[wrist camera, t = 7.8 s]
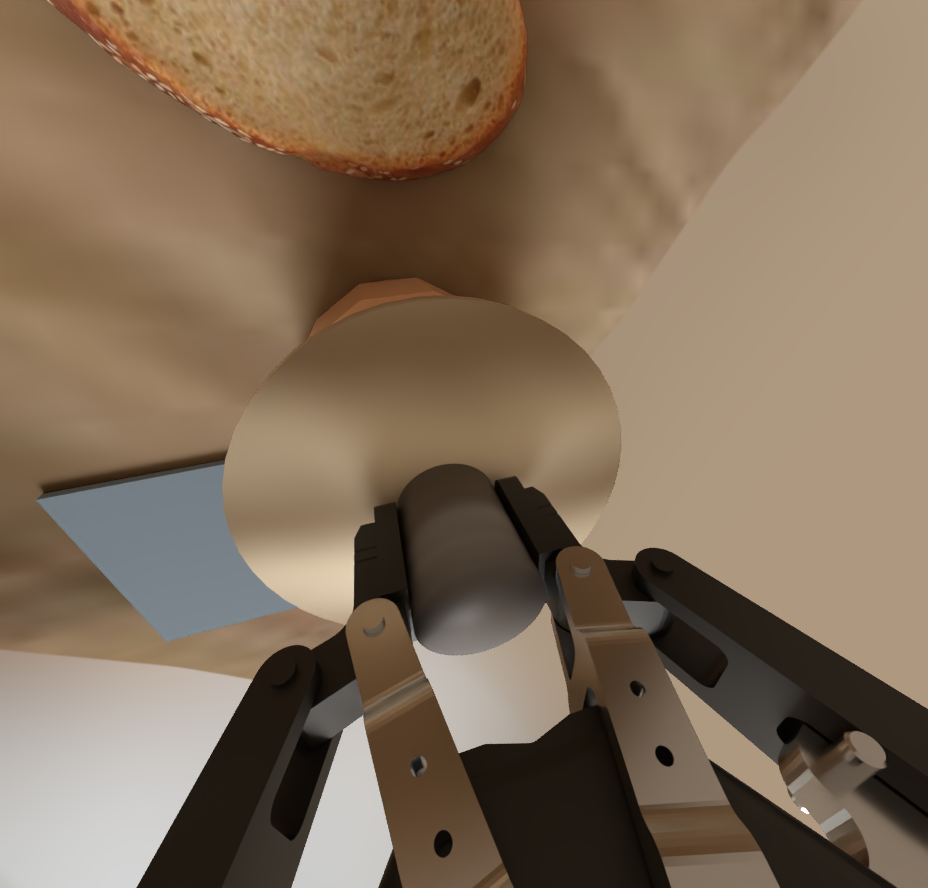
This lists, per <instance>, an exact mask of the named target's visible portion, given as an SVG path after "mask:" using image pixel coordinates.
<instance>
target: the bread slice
mask: <svg viewBox="0 0 928 888" xmlns="http://www.w3.org/2000/svg"><path fill="white" fill-rule="evenodd" d="M47 1H48V2H49V3H50V4H52V5H53V6H54V7H55V8H56V9H57V10H59V11H60V12H61V13H62V14H64V15H65V16H66V17H67V18H69V19H70V20H71V21H72V22H74V23H75V24H76V25H77V26H79V27H80V28H81V29H82V30H83V31H84V32H86V33H87V34H88V35H89V36H90V37H91V38H92V39H93V40H94V41H95V42H96V43H97V44H99V45H100V46H101V47H102V48H103V49H104V50H105V51H106V52H107V53H108V54H110V55H111V56H112V57H113V58H114V59H115V60H117V61H118V62H119V63H121V64H122V65H124V66H126V67H127V68H129V69H130V70H132V71H134V72H135V73H137V74H138V75H140V76H141V77H142V78H144V79H145V80H147V81H148V82H150V83H151V84H152V85H154V86H155V87H156V88H158V89H159V90H161V91H162V92H164V93H166V94H167V95H169V96H171V97H173V98H174V99H176V100H177V101H179V102H181V103H182V104H184V105H186V106H187V107H189V108H191V109H193V110H194V111H196V112H197V113H199V114H200V115H202V116H203V117H204V118H206V119H207V120H209V121H211V122H213V123H215V124H217V125H219V126H221V127H223V128H225V129H226V130H228V131H230V132H231V133H233V134H234V135H236V136H237V137H239V138H240V139H242V140H243V141H245V142H248V143H251V144H254V145H256V146H258V147H260V148H262V149H265V150H267V151H270V152H274V153H278V154H284V155H295V156H298V157H300V158H302V159H304V160H306V161H307V162H309V163H310V164H312V165H313V166H315V167H317V168H319V169H322V170H325V171H330V172H336V173H341V174H345V175H349V176H352V177H356V178H372V179H388V180H412V179H419V178H422V177H426V176H430V175H435V174H439V173H442V172H444V171H447V170H451V169H453V168H456V167H458V166H460V165H463V164H465V163H466V162H468V161H469V160H471V159H472V158H474V157H475V156H476V155H478V154H479V153H481V152H482V151H483V150H484V149H485V148H486V147H487V146H488V145H489V144H490V143H492V142H493V141H494V140H495V139H496V138H497V137H498V136H499V134H500V133H501V132H502V131H503V130H504V128H505V127H506V125H507V123H508V122H509V120H510V118H511V117H512V115H513V114H514V113H515V112H516V111H517V109H518V107H519V105H520V102H521V99H522V96H523V92H524V88H525V80H526V63H527V33H526V27H525V22H524V17H523V13H522V9H521V5H520V1H519V0H47Z"/></svg>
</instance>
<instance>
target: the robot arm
mask: <svg viewBox="0 0 928 888" xmlns="http://www.w3.org/2000/svg"><path fill="white" fill-rule="evenodd" d="M495 491H496V493H497V495H498V497H499V498H500V500H501V502H502V504H503V506H504V508H505V510H506V511H507V513H508V515H509V517H510V519H511V521H512V523H513V525H514V526H515V528H516V530H517V532H518V534H519V536H520V538H521V539H522V541H523V543H524V545H525V547H526V549H527V551H528V553H529V554H530V556H531V558H532V560H533V562H534V564H535V566H536V567H537V569H538V571H539V573H540V575H541V577H542V579H543V581H544V583H545V586H546V600H545V603H547V604H548V606H549V608H550V610H551V624H552V628H553V632H554V636H555V640H556V644H557V648H558V652H559V656H560V660H561V664H562V668H563V672H564V677H565V681H566V685H567V691H568V703H569V711H570V714H569V715H568V716H567V717H565V718H564V719H563V720H562V721H561V722H559V723H558V724H557V725H555V726H554V727H553V728H552V729H551V730H549V731H548V732H547V733H545V734H544V735H543V736H542V737H541V738H539V739H538V740H537V741H535V742H533V743H521V744H484V745H481V746H479V747H476V748H473V749H470V750H467V751H465V752H462V753H458V751H457V748H456V746H455V743H454V741H453V738H452V736H451V733H450V731H449V728H448V726H447V724H446V721H445V719H444V716H443V714H442V711H441V709H440V707H439V704H438V701H437V699H436V696H435V694H434V691H433V689H432V687H431V685H430V683H429V681H428V679H427V678H426V676H425V674H424V672H423V669H422V667H421V664H420V662H419V659H418V657H417V654H416V652H415V649H414V647H413V641H416V640H417V638H416V636H415V634H414V629H413V622H412V615H411V606H412V605H411V598H410V592H409V585H408V578H407V571H406V565H405V558H404V551H403V544H402V537H401V531H400V524H399V517H398V511H397V506H396V503H395V502H393V503H389V504H384V505H380V506H375V507H374V519H375V522H374V523H369V524H365V525H361V526H360V528H359V530H358V532H357V534H356V536H355V538H354V553H355V554H354V607H353V612H352V614H351V615H350V617H349V619H348V621H347V624H346V625H345V626H344V628H343V629H342V630H341V631H340V632H338V633H337V634H336V635H335V636H333V637H332V638H330V639H329V640H327V641H325V642H324V643H322V644H320V645H319V646H317V647H315V648H314V649H312V650H310V649H309V648H307V647H305V646H301V645H293V646H289V647H286V648H283V649H281V650H279V651H278V652H276V653H274V654H273V655H272V656H271V657H269V658H268V659H267V660H266V661H265V662H264V664H263V665H262V666H261V667H260V669H259V670H258V672H257V674H256V675H255V677H254V679H253V681H252V683H251V684H250V686H249V688H248V690H247V692H246V693H245V695H244V697H243V699H242V701H241V702H240V704H239V706H238V708H237V709H236V711H235V713H234V715H233V717H232V718H231V720H230V722H229V724H228V726H227V727H226V729H225V731H224V733H223V734H222V736H221V738H220V740H219V741H218V743H217V745H216V747H215V749H214V750H213V752H212V754H211V756H210V758H209V759H208V761H207V763H206V765H205V766H204V768H203V770H202V772H201V774H200V775H199V777H198V779H197V781H196V783H195V785H194V786H193V788H192V790H191V792H190V793H189V795H188V797H187V799H186V801H185V802H184V804H183V806H182V808H181V809H180V811H179V813H178V815H177V817H176V818H175V820H174V822H173V824H172V825H171V827H170V829H169V831H168V833H167V834H166V836H165V838H164V840H163V842H162V843H161V845H160V847H159V849H158V850H157V853H156V854H155V856H154V858H153V859H152V861H151V863H150V865H149V867H148V868H147V870H146V872H145V874H144V875H143V877H142V879H141V881H140V883H139V884H138V886H137V888H291V887H292V883H293V881H294V878H295V875H296V871H297V868H298V865H299V862H300V859H301V856H302V853H303V850H304V847H305V844H306V841H307V838H308V835H309V832H310V829H311V826H312V823H313V820H314V817H315V814H316V811H317V808H318V805H319V801H320V799H321V796H322V792H323V789H324V786H325V783H326V780H327V777H328V774H329V771H330V768H331V765H332V762H333V759H334V756H335V753H336V750H337V747H338V744H339V741H340V738H341V734H342V732H343V729H344V728H346V727H347V726H348V725H350V724H351V723H353V722H354V721H355V720H357V719H358V718H359V717H361V716H362V715H364V716H363V717H364V724H365V729H366V734H367V738H368V743H369V747H370V751H371V755H372V759H373V764H374V768H375V772H376V777H377V781H378V785H379V790H380V794H381V798H382V802H383V806H384V811H385V815H386V819H387V824H388V828H389V832H390V837H391V841H392V845H393V850H392V853H391V855H390V858H389V861H388V863H387V866H386V869H385V871H384V874H383V877H382V880H381V882H380V885H379V887H378V888H928V709H927V708H925V707H923V706H922V705H920V704H919V703H916V702H915V701H914V700H912V699H910V698H909V697H907V696H905V695H904V694H902V693H901V692H899V691H897V690H896V689H894V688H892V687H891V686H889V685H888V684H886V683H884V682H883V681H881V680H879V679H878V678H876V677H874V676H873V675H871V674H870V673H868V672H866V671H865V670H863V669H861V668H860V667H858V666H857V665H855V664H853V663H851V662H850V661H848V660H847V659H845V658H844V657H842V656H840V655H839V654H837V653H835V652H834V651H832V650H830V649H829V648H827V647H825V646H824V645H822V644H821V643H819V642H817V641H816V640H814V639H813V638H811V637H809V636H808V635H806V634H804V633H803V632H801V631H799V630H798V629H796V628H795V627H793V626H791V625H790V624H788V623H786V622H785V621H783V620H782V619H780V618H778V617H776V616H775V615H773V614H772V613H770V612H768V611H767V610H765V609H764V608H762V607H760V606H759V605H757V604H755V603H754V602H752V601H750V600H749V599H747V598H746V597H744V596H742V595H741V594H739V593H737V592H736V591H734V590H733V589H731V588H729V587H728V586H726V585H724V584H723V583H721V582H720V581H718V580H716V579H715V578H713V577H711V576H710V575H708V574H706V573H705V572H703V571H701V570H700V569H698V568H697V567H695V566H693V565H692V564H690V563H688V562H687V561H685V560H684V559H682V558H680V557H679V556H677V555H675V554H674V553H672V552H669V551H667V550H664V549H659V548H647V549H644V550H642V551H640V552H639V553H638V554H637V555H636V558H635V561H623V560H606V559H602V558H601V557H600V555H598V554H597V553H596V552H594V551H593V550H590V549H588V548H585V547H582V546H581V545H580V543H579V542H578V540H577V539H576V538H575V536H574V535H573V533H572V532H571V531H570V529H569V528H568V526H567V525H566V524H565V522H564V521H563V519H562V518H561V517H560V515H558V513H557V511H556V510H555V508H554V507H553V506H552V504H551V503H550V501H549V500H548V498H547V497H546V496H545V494H544V493H542V492H540V491H539V490H537V489H536V488H534V487H533V486H532V487H528V488H524V487H523V485H522V484H521V482H520V481H519V479H518V478H517V477H516V476H512V477H507V478H503V479H498V480H495ZM545 603H544V604H545ZM665 668H666V669H667V670H668V671H669V672H670V673H671V674H673V675H674V676H675V677H676V678H678V680H680V681H681V682H682V683H683V684H684V685H685V686H687V687H688V688H689V689H690V690H691V691H693V692H694V693H695V694H696V695H697V696H698V697H699V698H701V699H702V700H703V701H704V702H705V703H706V704H708V705H709V706H710V707H711V708H712V709H714V710H715V711H716V712H717V713H718V714H719V715H720V716H722V717H723V718H724V719H725V720H726V721H727V722H729V723H730V724H731V725H732V726H733V727H735V728H736V729H737V730H738V731H739V732H740V733H742V734H743V735H744V736H745V737H746V738H747V739H748V740H750V741H751V742H752V743H753V744H754V745H755V746H757V747H758V748H759V749H760V750H761V751H763V752H764V753H765V754H766V755H767V756H768V757H770V758H771V759H772V760H773V761H774V762H775V763H776V764H778V765H779V769H780V773H781V775H782V778H783V780H784V782H785V784H786V786H787V790H788V793H789V795H790V797H791V799H792V800H793V802H794V803H795V804H796V805H797V806H798V807H799V808H800V809H801V810H802V811H804V812H805V813H807V814H810V815H811V816H812V817H813V818H814V819H815V820H816V821H817V823H818V824H819V825H820V826H821V828H822V830H823V831H824V832H825V834H826V836H827V838H828V839H829V841H828V840H827V839H825V838H824V837H823V836H821V835H820V834H818V833H817V832H815V831H814V830H812V829H811V828H809V827H808V826H806V825H805V824H803V823H802V822H800V821H799V820H797V819H796V818H795V817H793V816H791V815H790V814H788V813H787V812H786V811H784V810H783V809H781V808H780V807H778V806H777V805H775V804H774V803H772V802H771V801H770V800H768V799H766V798H765V797H764V796H762V795H761V794H759V793H758V792H756V791H755V790H753V789H752V788H751V787H749V786H748V785H746V784H745V783H743V782H742V781H740V780H739V779H737V778H735V777H734V776H733V775H731V774H730V773H728V772H727V771H725V770H724V769H723V768H721V767H720V766H718V765H717V764H715V763H714V762H712V761H711V760H709V759H708V758H707V755H706V754H705V752H704V749H703V747H702V745H701V743H700V741H699V739H698V737H697V735H696V733H695V730H694V728H693V726H692V724H691V722H690V720H689V718H688V716H687V714H686V712H685V709H684V707H683V705H682V703H681V701H680V699H679V697H678V695H677V693H676V691H675V688H674V687H673V684H672V682H671V680H670V678H669V676H668V674H667V672H666V670H665Z"/></svg>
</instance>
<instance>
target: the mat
mask: <svg viewBox="0 0 928 888" xmlns="http://www.w3.org/2000/svg"><path fill="white" fill-rule="evenodd" d="M224 465H225V460H221V461H215V462H210V463H205V464H199V465H194V466H189V467H183V468H178V469H173V470H167V471H162V472H157V473H151V474H146V475H141V476H135V477H130V478H125V479H119V480H114V481H109V482H103V483H98V484H93V485H87V486H82V487H77V488H71V489H66V490H61V491H55V492H50V493H45V494H42V495H41V496H40V497H39V498H38V499H36V501H37V502H38V503H39V504H40V505H41V506H42V507H43V509H44V510H45V511H46V512H47V513H48V514H49V515H50V516H51V517H52V518H53V519H54V521H55V522H56V523H57V524H58V525H59V526H60V527H61V528H62V529H63V530H64V531H65V532H66V534H67V535H68V536H69V537H70V538H71V539H72V540H73V541H74V542H75V543H76V544H77V546H78V547H79V548H80V549H81V550H82V551H83V552H84V553H85V554H86V555H87V556H88V558H89V559H90V560H91V561H92V562H93V563H94V564H95V565H96V566H97V567H98V568H99V569H100V571H101V572H102V573H103V574H104V575H105V576H106V577H107V578H108V579H109V580H110V581H111V583H112V584H113V585H114V586H115V587H116V588H117V589H118V590H119V591H120V592H121V593H122V595H123V596H124V597H125V598H126V599H127V600H128V601H129V602H130V603H131V604H132V605H133V606H134V608H135V609H136V610H137V611H138V612H139V613H140V614H141V615H142V616H143V617H144V618H145V620H146V621H147V622H148V623H149V624H150V625H151V626H152V627H153V628H154V629H155V630H156V632H157V633H158V634H159V635H160V636H161V637H162V638H163V639H164V640H165V641H166V642H167V641H171V640H175V639H179V638H183V637H186V636H190V635H194V634H198V633H201V632H205V631H209V630H213V629H217V628H220V627H224V626H228V625H232V624H236V623H239V622H243V621H247V620H251V619H255V618H258V617H262V616H266V615H270V614H274V613H277V612H281V611H285V610H289V609H293V608H296V607H297V606H295V605H293V604H291V603H290V602H288V601H286V600H284V599H283V598H282V597H280V596H279V595H278V594H276V593H275V592H274V591H272V590H271V589H270V588H269V587H267V586H266V585H265V584H264V583H263V582H262V581H261V580H260V579H259V578H258V577H257V576H256V574H255V573H254V572H253V571H252V570H251V569H250V567H249V566H248V564H247V563H246V562H245V560H244V559H243V557H242V556H241V554H240V553H239V551H238V549H237V547H236V545H235V542H234V540H233V538H232V536H231V534H230V531H229V527H228V524H227V520H226V516H225V512H224V505H223V490H222V482H223V474H224Z"/></svg>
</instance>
